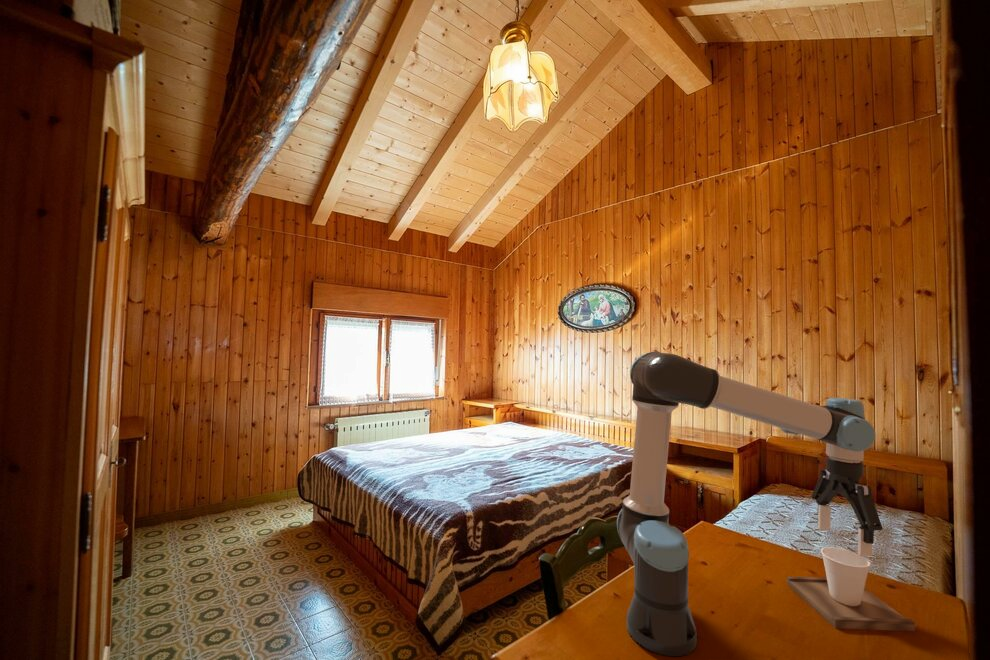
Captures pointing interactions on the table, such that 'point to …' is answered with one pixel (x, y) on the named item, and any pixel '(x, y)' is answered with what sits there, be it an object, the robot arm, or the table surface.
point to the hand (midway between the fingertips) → (843, 541)
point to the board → (849, 607)
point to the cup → (845, 574)
